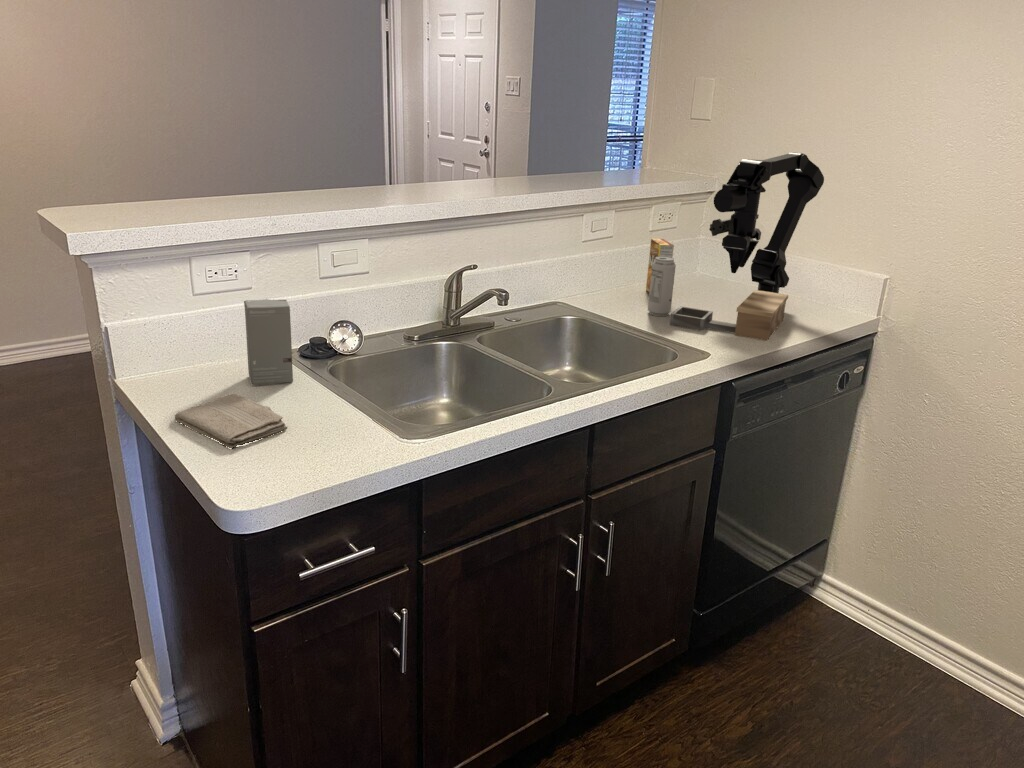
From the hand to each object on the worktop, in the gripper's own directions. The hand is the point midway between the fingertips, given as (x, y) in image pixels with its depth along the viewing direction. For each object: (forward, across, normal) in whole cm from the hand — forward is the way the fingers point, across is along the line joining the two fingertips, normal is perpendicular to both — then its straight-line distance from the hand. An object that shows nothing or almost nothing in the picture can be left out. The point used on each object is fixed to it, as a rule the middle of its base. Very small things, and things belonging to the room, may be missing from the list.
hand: (737, 270), depth 211 cm
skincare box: (+15, +101, -68) cm, 123 cm away
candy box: (+12, -9, -24) cm, 28 cm away
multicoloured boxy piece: (+12, +9, +1) cm, 15 cm away
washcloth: (+16, +122, -58) cm, 136 cm away
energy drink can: (+12, +11, -17) cm, 24 cm away
